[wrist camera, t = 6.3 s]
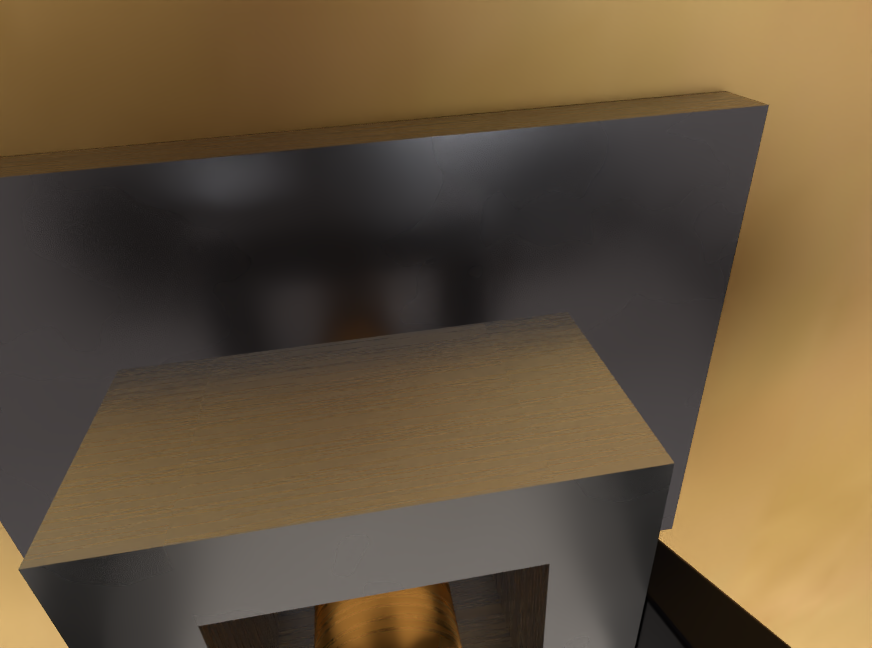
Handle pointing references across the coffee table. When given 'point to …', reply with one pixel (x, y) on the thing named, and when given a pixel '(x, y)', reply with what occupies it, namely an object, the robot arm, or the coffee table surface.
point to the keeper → (369, 269)
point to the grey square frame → (360, 493)
